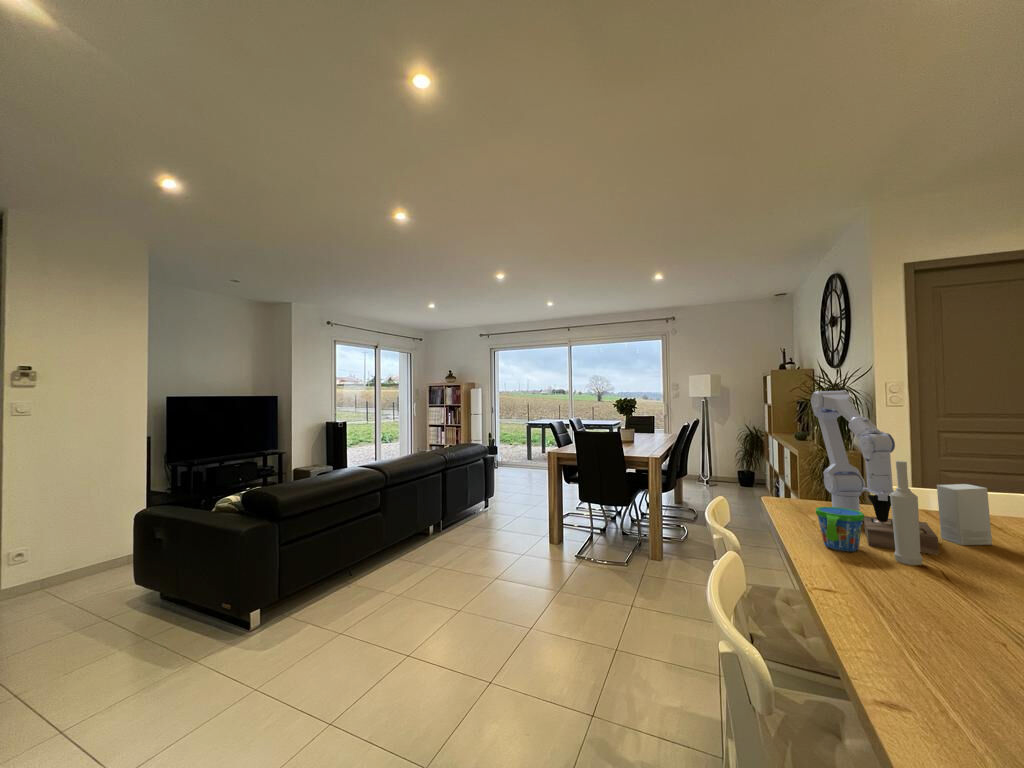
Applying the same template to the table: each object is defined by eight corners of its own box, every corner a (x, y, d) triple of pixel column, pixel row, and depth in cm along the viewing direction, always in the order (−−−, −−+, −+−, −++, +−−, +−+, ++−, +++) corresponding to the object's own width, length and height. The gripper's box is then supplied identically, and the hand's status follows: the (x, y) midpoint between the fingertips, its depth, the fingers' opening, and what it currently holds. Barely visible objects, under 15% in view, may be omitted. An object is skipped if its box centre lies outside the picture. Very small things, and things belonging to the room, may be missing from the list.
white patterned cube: (873, 533, 126) (872, 518, 127) (891, 535, 124) (890, 519, 124) (875, 536, 123) (873, 521, 123) (893, 538, 121) (892, 523, 121)
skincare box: (971, 538, 121) (966, 483, 121) (995, 546, 114) (990, 488, 115) (939, 538, 121) (934, 483, 122) (961, 545, 115) (956, 488, 116)
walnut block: (864, 530, 130) (863, 515, 130) (927, 538, 122) (926, 522, 122) (868, 545, 117) (867, 529, 117) (939, 555, 109) (937, 537, 109)
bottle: (928, 566, 102) (920, 463, 103) (903, 565, 103) (896, 463, 104) (913, 558, 107) (905, 460, 108) (889, 557, 108) (882, 460, 109)
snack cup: (830, 538, 125) (829, 503, 125) (875, 548, 116) (873, 510, 116) (806, 548, 116) (804, 510, 117) (852, 559, 107) (850, 518, 108)
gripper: (859, 469, 133) (862, 513, 132) (863, 477, 121) (866, 524, 120) (889, 471, 129) (892, 516, 128) (896, 479, 117) (899, 528, 116)
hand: (882, 520), depth 124 cm, fingers closed, pressing on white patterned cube
